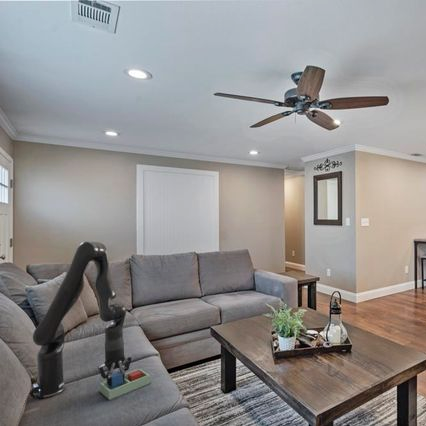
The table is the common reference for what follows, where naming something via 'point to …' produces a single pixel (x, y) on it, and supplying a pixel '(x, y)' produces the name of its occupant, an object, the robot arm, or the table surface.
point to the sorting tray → (124, 385)
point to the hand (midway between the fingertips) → (115, 382)
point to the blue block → (116, 378)
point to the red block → (134, 376)
